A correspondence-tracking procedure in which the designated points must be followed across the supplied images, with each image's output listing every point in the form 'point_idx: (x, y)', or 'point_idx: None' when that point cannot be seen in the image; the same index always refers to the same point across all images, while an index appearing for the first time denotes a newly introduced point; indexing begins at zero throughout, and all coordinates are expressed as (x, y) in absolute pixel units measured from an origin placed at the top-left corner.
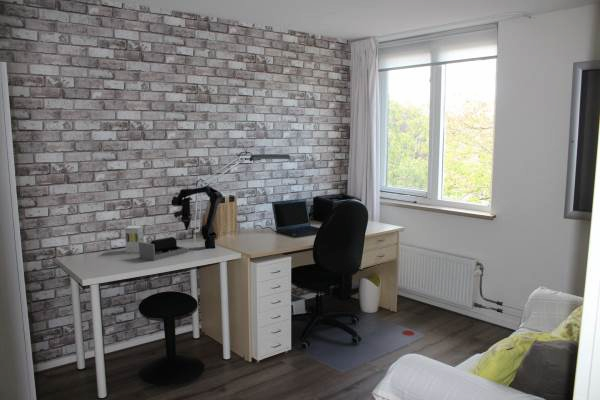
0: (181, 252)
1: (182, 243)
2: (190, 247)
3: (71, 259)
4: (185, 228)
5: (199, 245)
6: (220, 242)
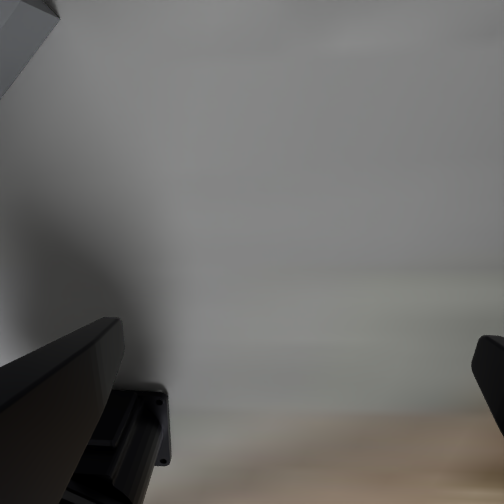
0: None
1: (437, 141)
2: (161, 248)
3: None
4: (68, 337)
5: (245, 337)
6: (325, 498)
